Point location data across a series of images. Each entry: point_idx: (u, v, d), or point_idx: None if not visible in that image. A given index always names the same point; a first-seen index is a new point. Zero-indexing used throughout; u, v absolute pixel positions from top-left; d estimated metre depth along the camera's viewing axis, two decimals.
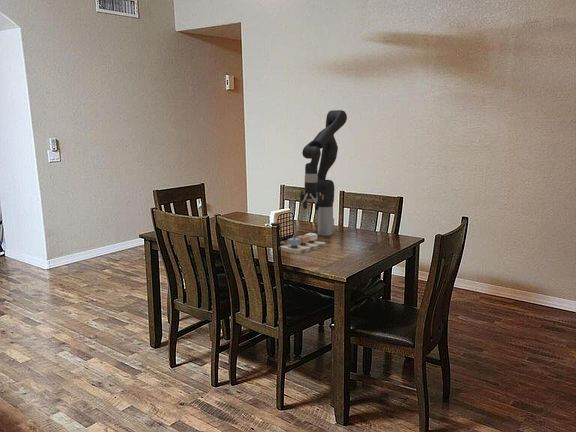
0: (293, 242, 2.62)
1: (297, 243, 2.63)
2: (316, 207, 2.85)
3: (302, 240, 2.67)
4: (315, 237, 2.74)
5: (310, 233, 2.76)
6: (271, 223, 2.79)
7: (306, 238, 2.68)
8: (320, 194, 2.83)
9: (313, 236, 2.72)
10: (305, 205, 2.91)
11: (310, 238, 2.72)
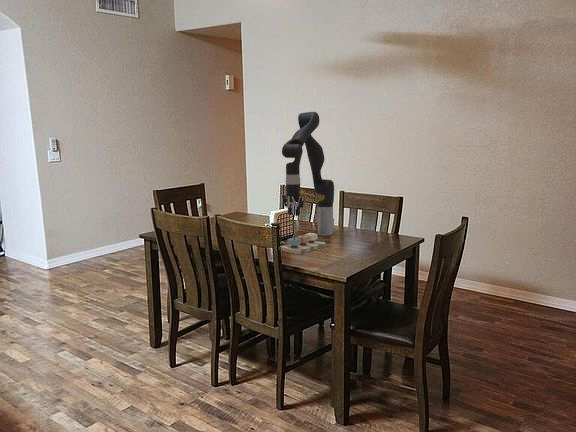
0: (293, 242, 2.62)
1: (297, 243, 2.63)
2: (296, 213, 2.59)
3: (302, 240, 2.67)
4: (315, 237, 2.74)
5: (310, 233, 2.76)
6: (271, 223, 2.79)
7: (306, 238, 2.68)
8: (302, 199, 2.56)
9: (313, 236, 2.72)
10: (290, 211, 2.63)
11: (310, 238, 2.72)
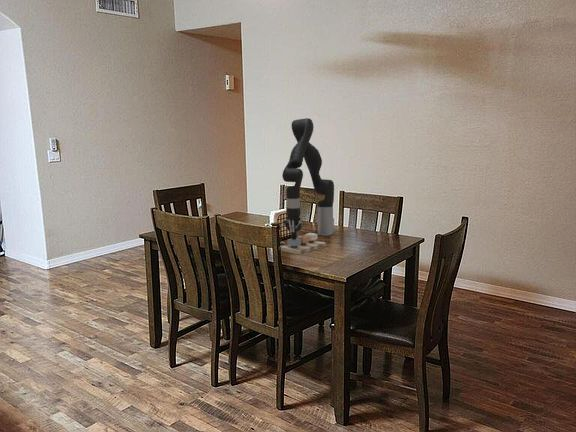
0: (293, 242, 2.62)
1: (297, 243, 2.63)
2: None
3: (302, 240, 2.67)
4: (315, 237, 2.74)
5: (310, 233, 2.76)
6: (271, 223, 2.79)
7: (306, 238, 2.68)
8: (301, 225, 2.59)
9: (313, 236, 2.72)
10: None
11: (310, 238, 2.72)
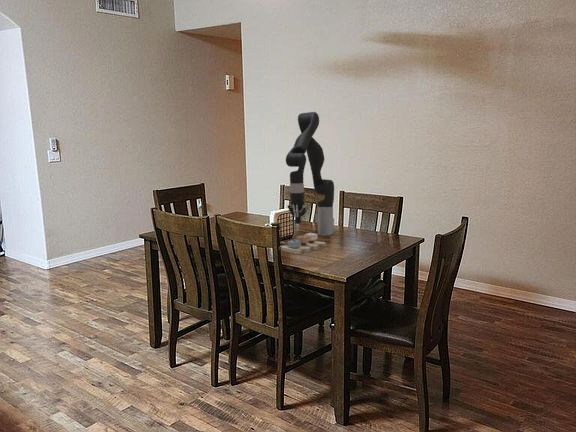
0: (293, 244, 2.62)
1: (297, 245, 2.63)
2: (298, 220, 2.64)
3: (302, 240, 2.67)
4: (315, 237, 2.74)
5: (310, 233, 2.76)
6: (271, 223, 2.79)
7: (306, 238, 2.68)
8: (305, 209, 2.60)
9: (313, 236, 2.72)
10: None
11: (310, 238, 2.72)
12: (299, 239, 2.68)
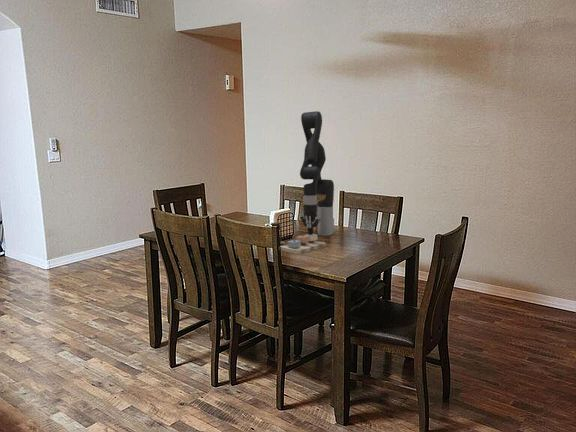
0: (293, 244, 2.62)
1: (297, 245, 2.63)
2: (310, 231, 2.73)
3: (302, 240, 2.67)
4: (315, 237, 2.74)
5: None
6: (271, 223, 2.79)
7: (306, 238, 2.68)
8: (318, 221, 2.69)
9: (313, 236, 2.72)
10: None
11: (310, 238, 2.72)
12: (299, 239, 2.68)
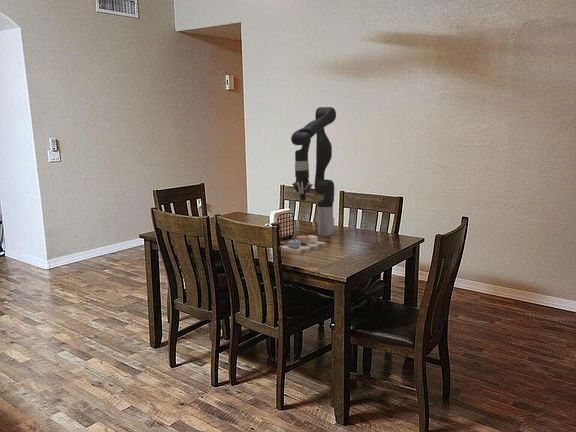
0: (293, 244, 2.62)
1: (297, 245, 2.63)
2: None
3: (302, 240, 2.67)
4: (315, 239, 2.74)
5: (310, 235, 2.76)
6: (271, 223, 2.79)
7: (306, 238, 2.68)
8: (310, 186, 2.71)
9: (313, 238, 2.72)
10: None
11: (310, 240, 2.72)
12: (299, 239, 2.68)
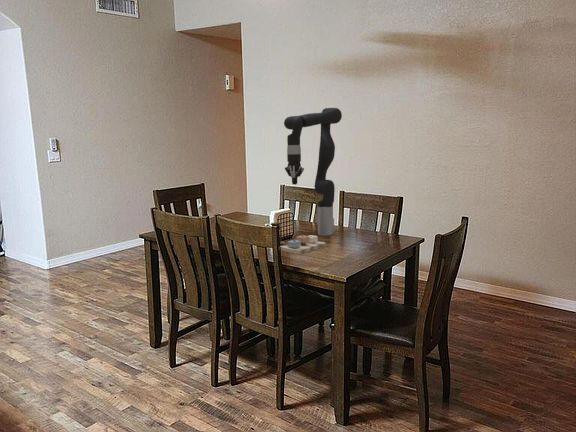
0: (293, 244, 2.62)
1: (297, 245, 2.63)
2: None
3: (302, 240, 2.67)
4: (315, 239, 2.74)
5: (310, 235, 2.76)
6: (271, 223, 2.79)
7: (306, 238, 2.68)
8: (302, 170, 2.74)
9: (313, 238, 2.72)
10: None
11: (310, 240, 2.72)
12: (299, 239, 2.68)
